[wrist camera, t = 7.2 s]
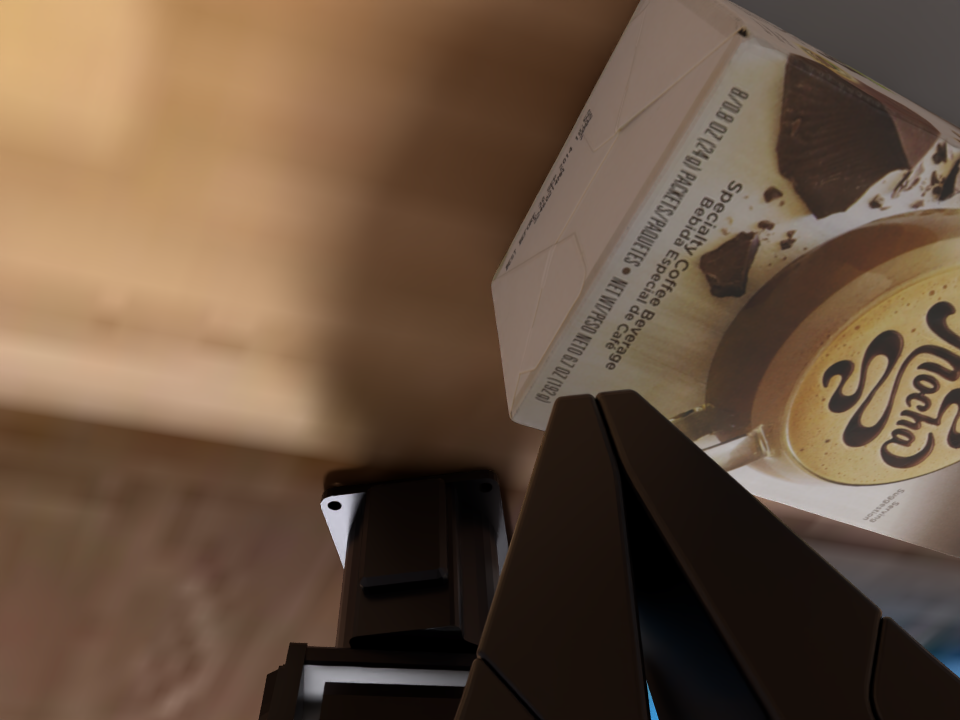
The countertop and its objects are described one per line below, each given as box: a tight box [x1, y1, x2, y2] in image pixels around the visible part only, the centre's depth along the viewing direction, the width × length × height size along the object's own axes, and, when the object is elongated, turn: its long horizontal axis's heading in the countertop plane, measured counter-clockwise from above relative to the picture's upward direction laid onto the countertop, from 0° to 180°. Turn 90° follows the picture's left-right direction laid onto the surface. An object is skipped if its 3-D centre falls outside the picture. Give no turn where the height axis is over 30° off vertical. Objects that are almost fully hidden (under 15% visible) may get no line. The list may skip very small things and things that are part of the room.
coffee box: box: [491, 0, 960, 558], centre depth 19 cm, size 9×6×16 cm
